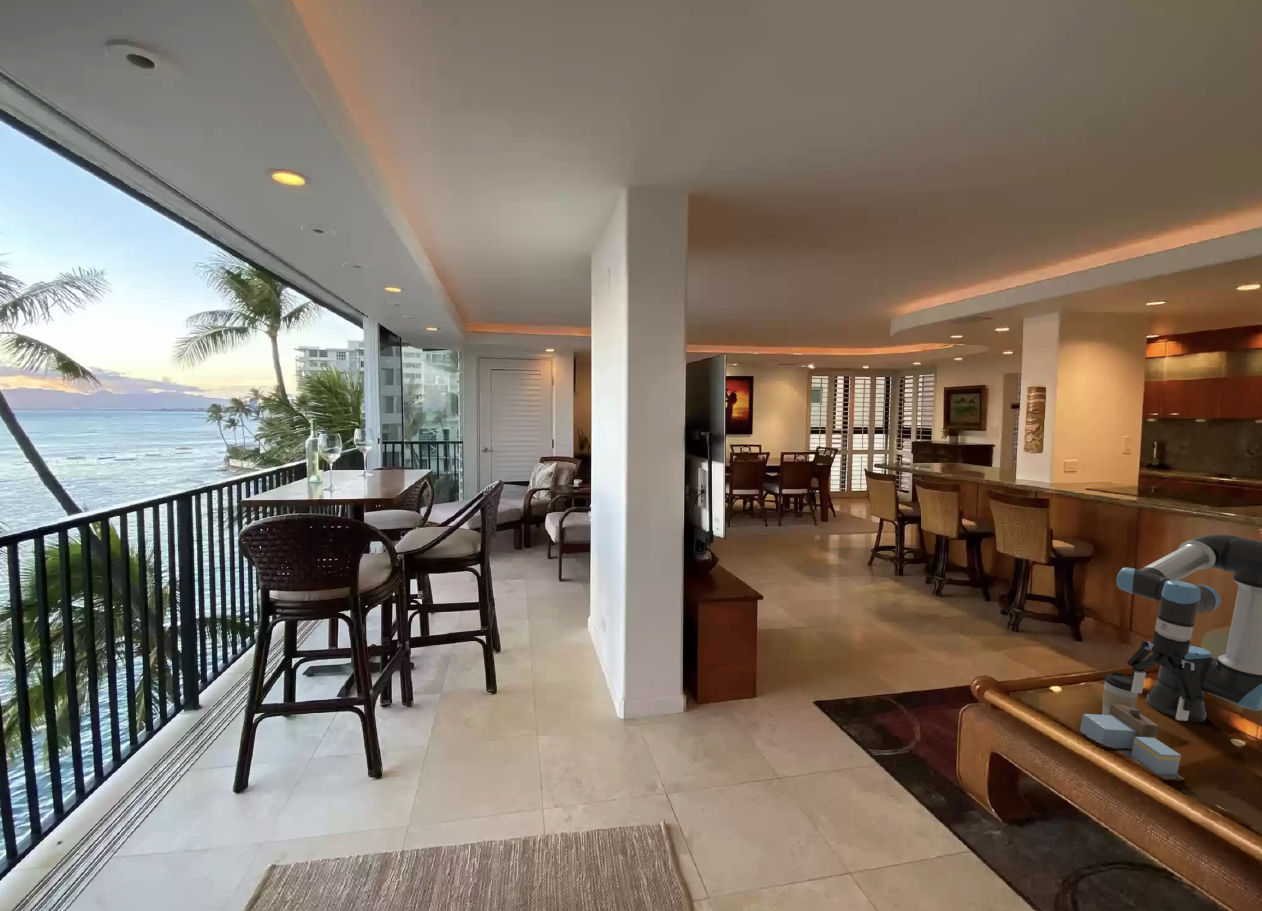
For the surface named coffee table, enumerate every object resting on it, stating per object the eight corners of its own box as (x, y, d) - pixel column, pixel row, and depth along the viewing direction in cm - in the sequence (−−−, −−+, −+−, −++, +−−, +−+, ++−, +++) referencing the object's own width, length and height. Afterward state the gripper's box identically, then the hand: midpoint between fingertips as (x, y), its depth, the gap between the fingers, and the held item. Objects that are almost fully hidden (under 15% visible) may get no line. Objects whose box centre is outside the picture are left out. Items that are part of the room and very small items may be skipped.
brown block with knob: (1120, 730, 183) (1127, 700, 182) (1152, 753, 172) (1159, 720, 171) (1105, 729, 183) (1112, 699, 181) (1137, 752, 172) (1143, 719, 170)
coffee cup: (1139, 729, 184) (1148, 686, 182) (1108, 724, 186) (1116, 681, 184) (1121, 714, 193) (1130, 673, 191) (1091, 709, 195) (1099, 668, 193)
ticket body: (1122, 733, 181) (1125, 715, 181) (1145, 749, 173) (1149, 731, 173) (1079, 731, 181) (1083, 713, 180) (1101, 747, 173) (1104, 729, 172)
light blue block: (1150, 755, 169) (1153, 737, 169) (1177, 774, 161) (1181, 755, 161) (1130, 755, 169) (1134, 736, 168) (1157, 773, 161) (1161, 754, 160)
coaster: (1145, 753, 171) (1145, 751, 171) (1184, 781, 160) (1184, 779, 159) (1106, 751, 171) (1107, 749, 171) (1143, 779, 159) (1144, 777, 159)
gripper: (1120, 616, 172) (1108, 681, 175) (1205, 656, 148) (1188, 731, 151) (1144, 617, 173) (1131, 682, 176) (1232, 658, 148) (1216, 733, 151)
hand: (1157, 705), depth 163 cm, fingers open, 13 cm apart
